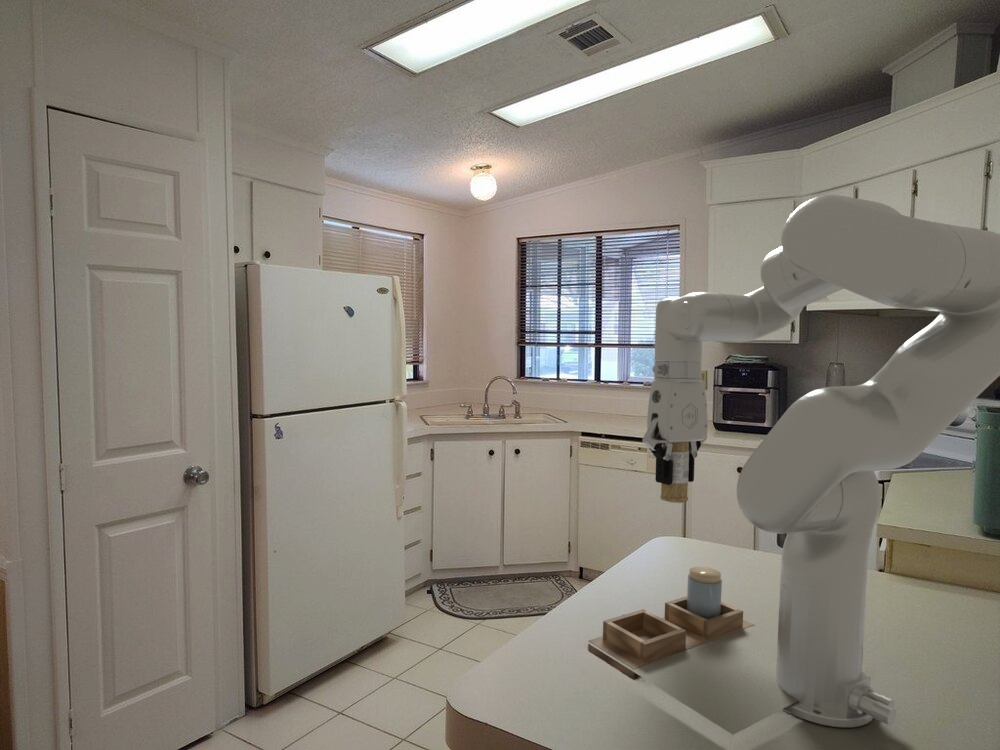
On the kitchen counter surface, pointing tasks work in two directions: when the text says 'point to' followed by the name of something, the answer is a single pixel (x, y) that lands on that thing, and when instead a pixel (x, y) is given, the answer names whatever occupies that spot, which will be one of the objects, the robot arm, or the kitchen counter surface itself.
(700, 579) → the spice pot
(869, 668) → the kitchen counter surface
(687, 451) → the sprinkles bottle
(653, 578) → the kitchen counter surface
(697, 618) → the spice rail
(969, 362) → the robot arm
